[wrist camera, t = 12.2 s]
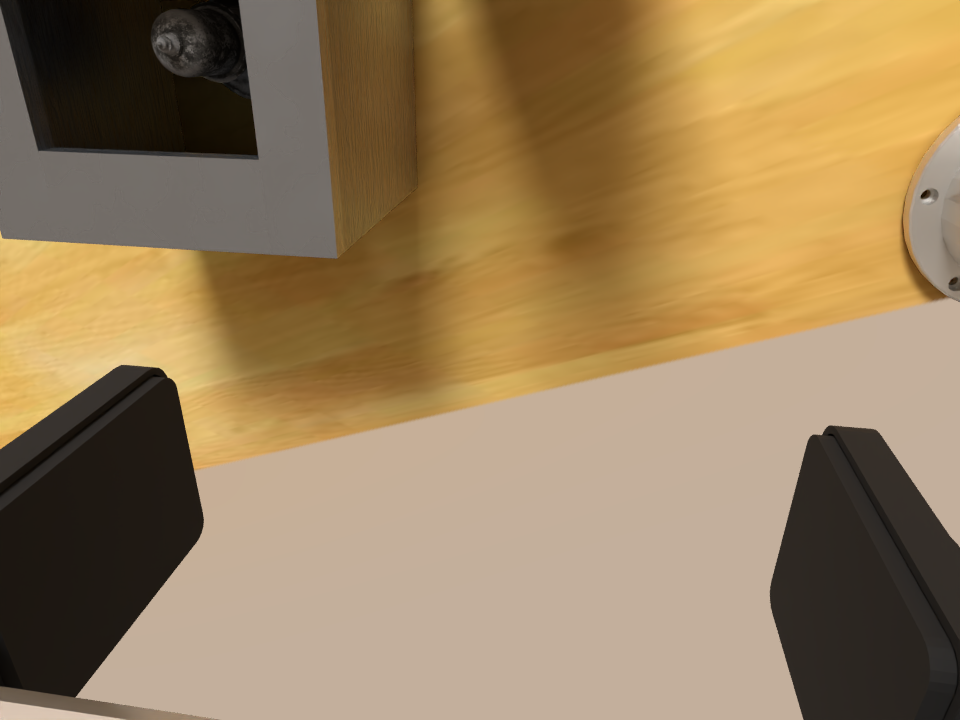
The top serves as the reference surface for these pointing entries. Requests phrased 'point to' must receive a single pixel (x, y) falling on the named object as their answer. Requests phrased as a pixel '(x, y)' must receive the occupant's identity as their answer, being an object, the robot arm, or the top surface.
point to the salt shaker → (204, 43)
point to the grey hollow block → (159, 139)
